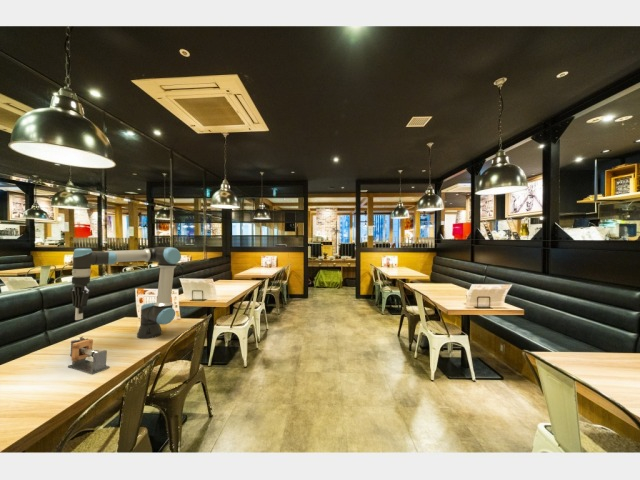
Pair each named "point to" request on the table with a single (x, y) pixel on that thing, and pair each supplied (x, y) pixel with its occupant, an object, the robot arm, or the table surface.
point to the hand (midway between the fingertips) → (78, 319)
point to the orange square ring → (77, 345)
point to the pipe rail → (90, 366)
